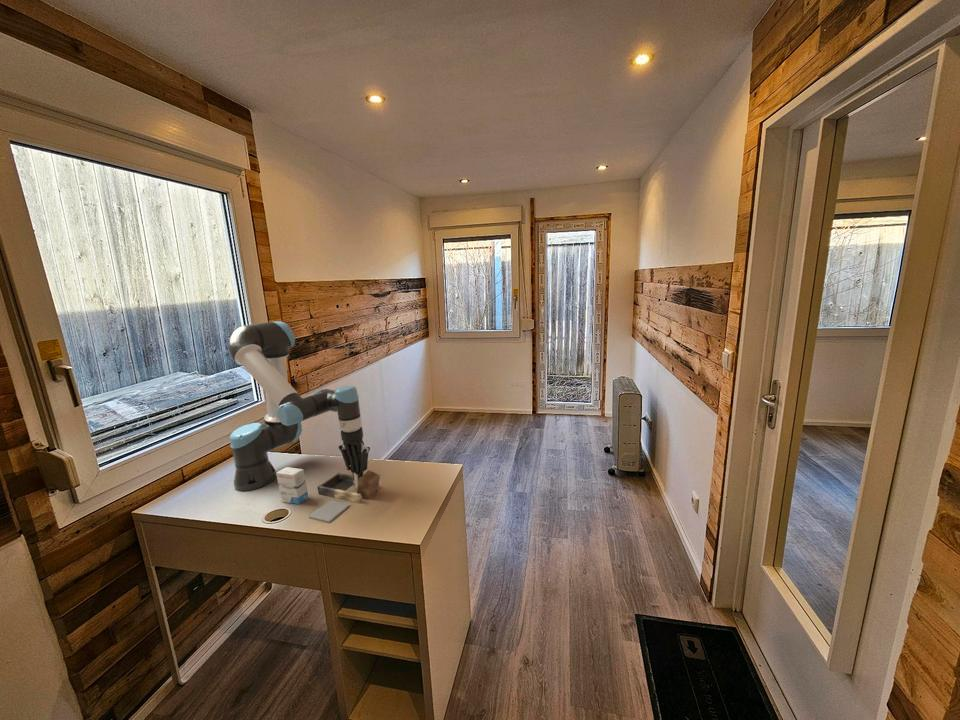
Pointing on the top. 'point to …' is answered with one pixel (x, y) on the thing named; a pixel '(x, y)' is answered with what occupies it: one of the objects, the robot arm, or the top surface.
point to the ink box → (292, 485)
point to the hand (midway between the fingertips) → (359, 487)
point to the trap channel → (340, 488)
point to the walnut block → (368, 484)
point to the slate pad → (329, 511)
